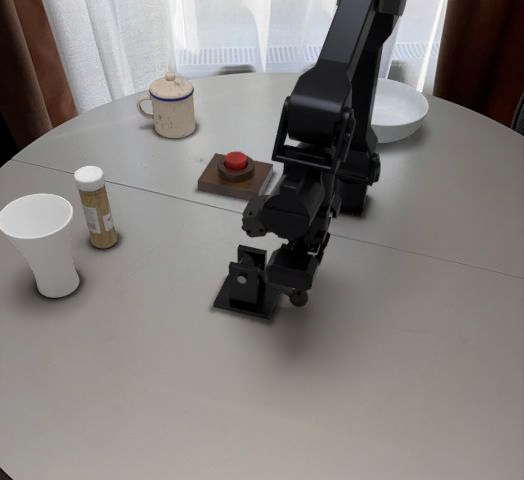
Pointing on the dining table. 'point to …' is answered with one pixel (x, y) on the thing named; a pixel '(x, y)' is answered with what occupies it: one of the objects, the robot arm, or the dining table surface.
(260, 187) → the switch block
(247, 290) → the bracket
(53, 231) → the cup
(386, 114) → the serving bowl
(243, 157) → the button
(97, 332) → the dining table surface
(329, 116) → the robot arm
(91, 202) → the sprinkles bottle
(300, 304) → the lever
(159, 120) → the teacup with lid
